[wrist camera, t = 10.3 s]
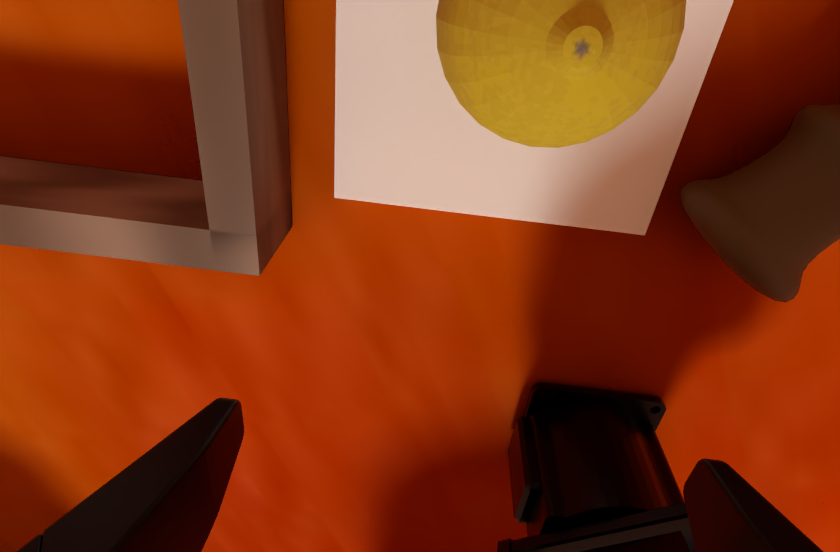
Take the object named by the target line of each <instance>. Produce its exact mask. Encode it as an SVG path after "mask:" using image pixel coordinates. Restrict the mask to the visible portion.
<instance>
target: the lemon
mask: <svg viewBox="0 0 840 552" xmlns="http://www.w3.org/2000/svg"><path fill="white" fill-rule="evenodd" d="M685 11H686V0H439V2H438V7H437V12H436V32H437V50H438V54H439V57H440V61H441V65H442V68H443V72H444V76H445V78H446V80H447V82H448V84H449V85H450V87H451V89H452V91H453V93H454V94H455V96H456V98H457V100H458V102H459V103H460V104H461V106H462V107H463V108H464V109H465V110H466V111H467V112H468V113H469V114H470V115H471V116H472V117H473V118H474V119H475V120H476V121H477V122H478V123H479V124H480V125H481V126H483V127H485V128H486V129H488V130H490V131H491V132H493V133H495V134H496V135H498V136H500V137H501V138H503V139H506V140H509V141H512V142H516V143H519V144H523V145H526V146H529V147H550V148H561V147H565V146H570V145H575V144H580V143H585V142H588V141H590V140H592V139H594V138H596V137H598V136H601V135H603V134H605V133H607V132H609V131H612V130H613V129H615V128H616V127H617V126H619V125H620V124H621V123H623V122H624V121H625V120H627V119H628V118H629V117H631V116H632V115H633V114H635V113H636V112H637V111H638V110H639V109H640V108H641V107H642V105H643V104H644V103H645V102H646V101H647V100H648V99H649V98H650V96H651V95H652V94H653V93H654V92H655V91H656V90H657V88H658V87H659V85H660V83H661V81H662V80H663V78H664V76H665V74H666V73H667V71H668V69H669V67H670V66H671V64H672V62H673V60H674V58H675V55H676V51H677V48H678V45H679V42H680V39H681V36H682V33H683V30H684V23H685Z"/></svg>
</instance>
